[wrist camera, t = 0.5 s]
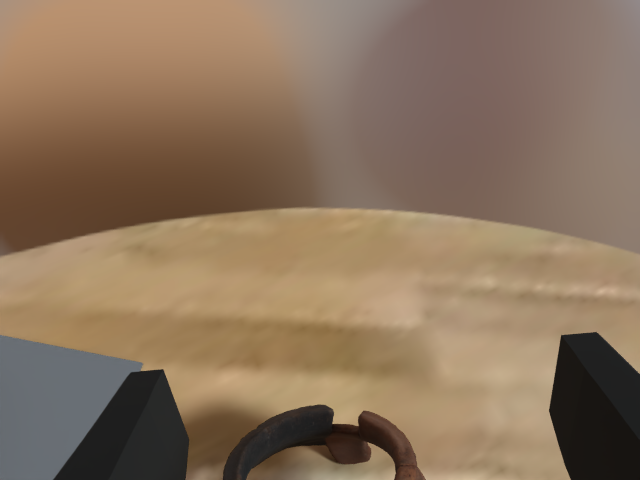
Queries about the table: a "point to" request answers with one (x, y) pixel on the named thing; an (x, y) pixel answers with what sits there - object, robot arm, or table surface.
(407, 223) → the table surface
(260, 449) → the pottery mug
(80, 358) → the slate coaster
